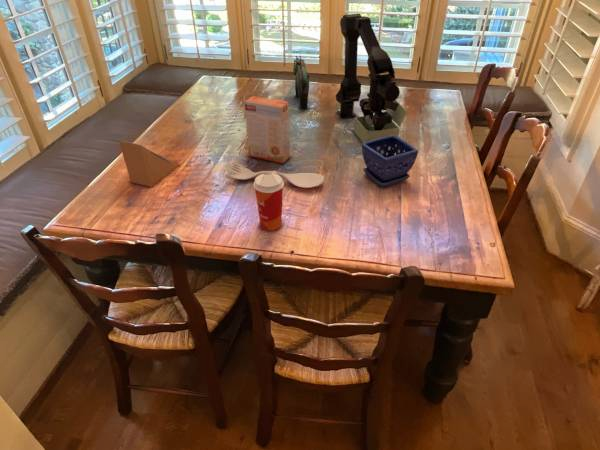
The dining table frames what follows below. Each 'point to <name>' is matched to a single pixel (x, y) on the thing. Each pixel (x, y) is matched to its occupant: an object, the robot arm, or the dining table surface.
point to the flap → (398, 114)
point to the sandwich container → (144, 164)
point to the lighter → (369, 122)
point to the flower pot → (388, 160)
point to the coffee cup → (269, 200)
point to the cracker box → (268, 129)
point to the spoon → (297, 179)
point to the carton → (373, 131)
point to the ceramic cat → (301, 82)
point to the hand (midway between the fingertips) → (373, 131)
